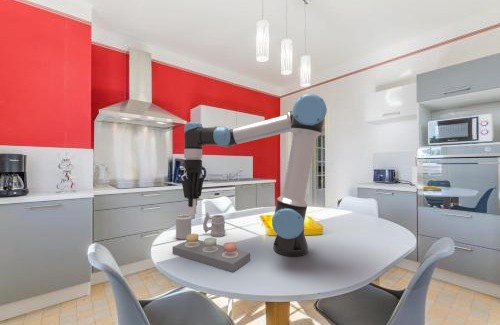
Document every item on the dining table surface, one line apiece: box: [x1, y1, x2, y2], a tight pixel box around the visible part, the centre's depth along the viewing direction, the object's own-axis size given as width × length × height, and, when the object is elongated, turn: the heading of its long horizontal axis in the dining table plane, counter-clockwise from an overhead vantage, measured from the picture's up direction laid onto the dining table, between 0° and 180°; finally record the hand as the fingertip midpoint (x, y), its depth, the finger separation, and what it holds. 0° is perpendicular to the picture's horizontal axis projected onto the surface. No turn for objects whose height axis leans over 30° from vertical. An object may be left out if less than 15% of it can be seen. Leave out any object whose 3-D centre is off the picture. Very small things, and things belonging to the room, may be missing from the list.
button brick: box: [223, 241, 238, 252], centre depth 92 cm, size 5×5×2 cm
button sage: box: [203, 237, 218, 247], centre depth 97 cm, size 5×5×2 cm
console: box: [172, 239, 251, 273], centre depth 97 cm, size 31×12×3 cm, turn 59°
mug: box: [202, 211, 226, 238], centre depth 125 cm, size 8×12×12 cm, turn 91°
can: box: [175, 212, 192, 241], centre depth 120 cm, size 8×8×12 cm
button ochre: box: [186, 233, 199, 242], centre depth 102 cm, size 5×5×2 cm
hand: (192, 213), depth 102 cm, fingers closed
